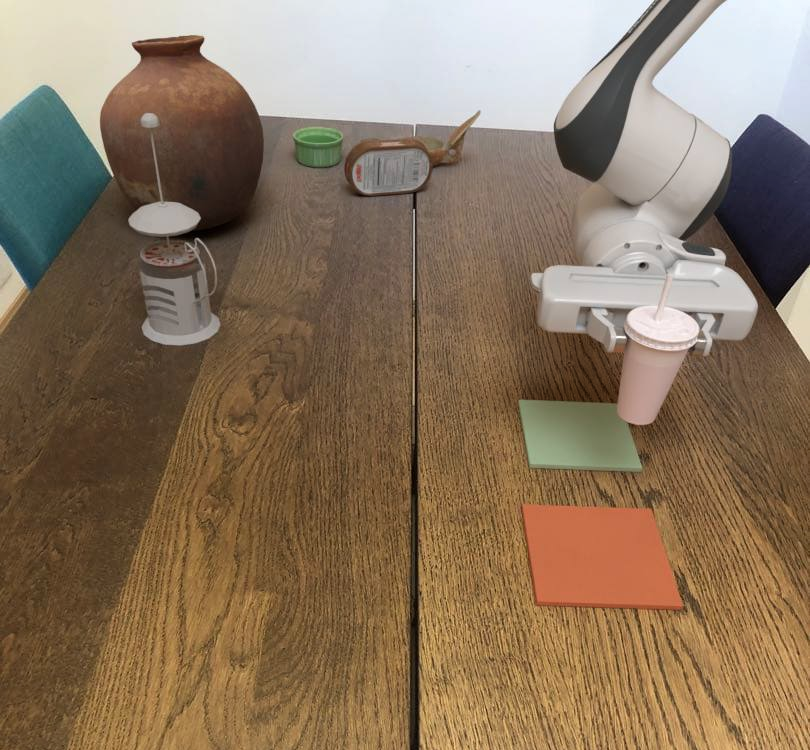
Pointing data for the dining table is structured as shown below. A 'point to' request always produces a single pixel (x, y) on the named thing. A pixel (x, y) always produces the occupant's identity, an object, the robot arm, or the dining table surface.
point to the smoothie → (652, 357)
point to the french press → (172, 298)
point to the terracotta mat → (598, 558)
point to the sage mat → (577, 436)
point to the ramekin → (318, 146)
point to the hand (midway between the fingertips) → (660, 347)
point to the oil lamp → (441, 149)
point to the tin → (388, 167)
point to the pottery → (183, 132)
